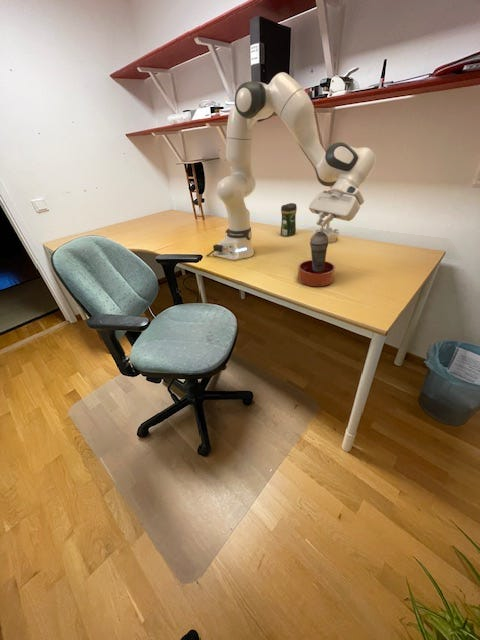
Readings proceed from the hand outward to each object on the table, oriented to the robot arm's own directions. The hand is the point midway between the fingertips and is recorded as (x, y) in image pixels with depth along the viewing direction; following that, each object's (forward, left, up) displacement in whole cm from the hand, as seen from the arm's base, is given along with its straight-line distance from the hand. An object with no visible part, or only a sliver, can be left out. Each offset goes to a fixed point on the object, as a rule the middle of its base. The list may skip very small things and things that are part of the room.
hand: (320, 225), depth 97 cm
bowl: (0, 0, -23) cm, 23 cm away
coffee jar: (-29, +60, -23) cm, 71 cm away
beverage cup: (+1, +2, -19) cm, 19 cm away
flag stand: (-4, +55, -23) cm, 60 cm away
